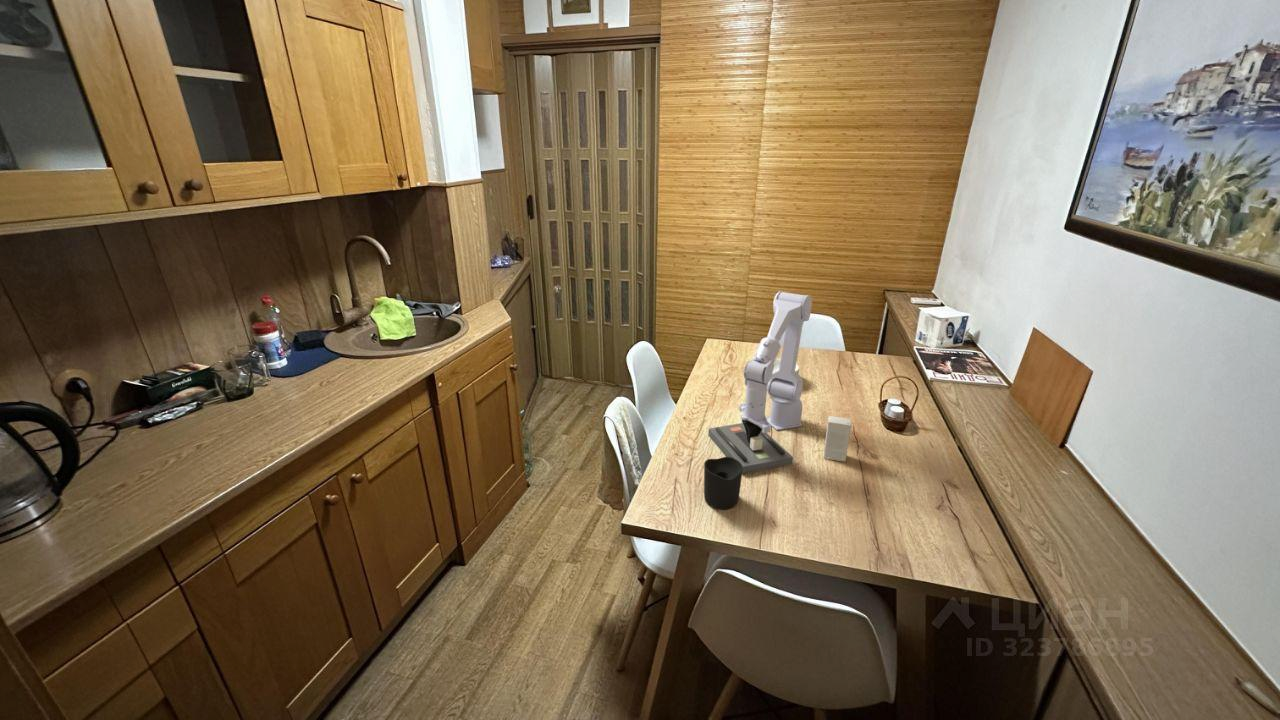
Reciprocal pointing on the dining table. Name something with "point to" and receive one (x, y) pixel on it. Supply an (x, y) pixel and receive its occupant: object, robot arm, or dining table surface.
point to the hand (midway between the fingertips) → (751, 442)
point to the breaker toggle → (756, 443)
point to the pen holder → (722, 482)
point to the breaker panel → (749, 449)
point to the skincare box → (837, 438)
